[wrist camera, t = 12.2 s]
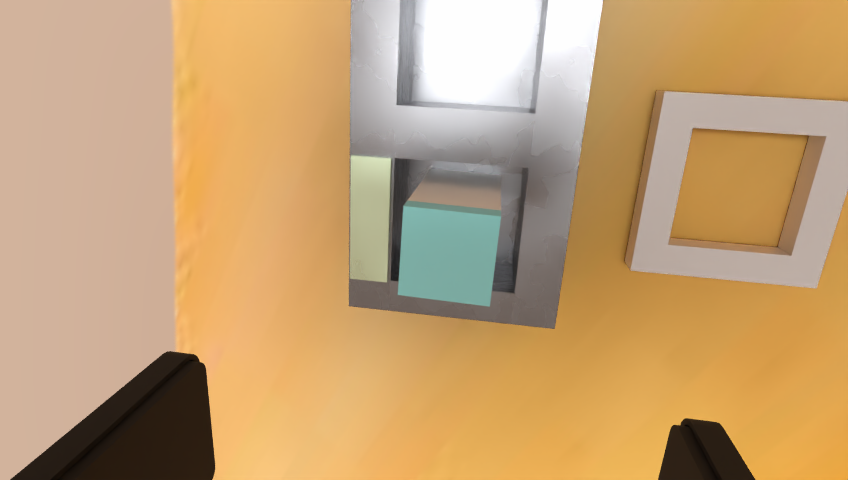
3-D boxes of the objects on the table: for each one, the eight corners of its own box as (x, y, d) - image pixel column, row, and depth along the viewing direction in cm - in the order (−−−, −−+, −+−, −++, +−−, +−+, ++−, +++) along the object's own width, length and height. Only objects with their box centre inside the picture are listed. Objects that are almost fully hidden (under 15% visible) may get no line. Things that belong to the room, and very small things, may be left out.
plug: (500, 175, 29) (501, 216, 21) (492, 241, 30) (489, 306, 22) (431, 168, 30) (403, 206, 21) (425, 234, 31) (397, 294, 22)
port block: (591, -57, 26) (618, -95, 20) (545, 284, 32) (555, 331, 26) (382, -62, 28) (349, -99, 22) (374, 267, 34) (347, 308, 28)
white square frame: (855, 101, 27) (875, 103, 25) (801, 278, 30) (816, 288, 29) (656, 90, 28) (664, 91, 27) (624, 261, 31) (630, 270, 30)
